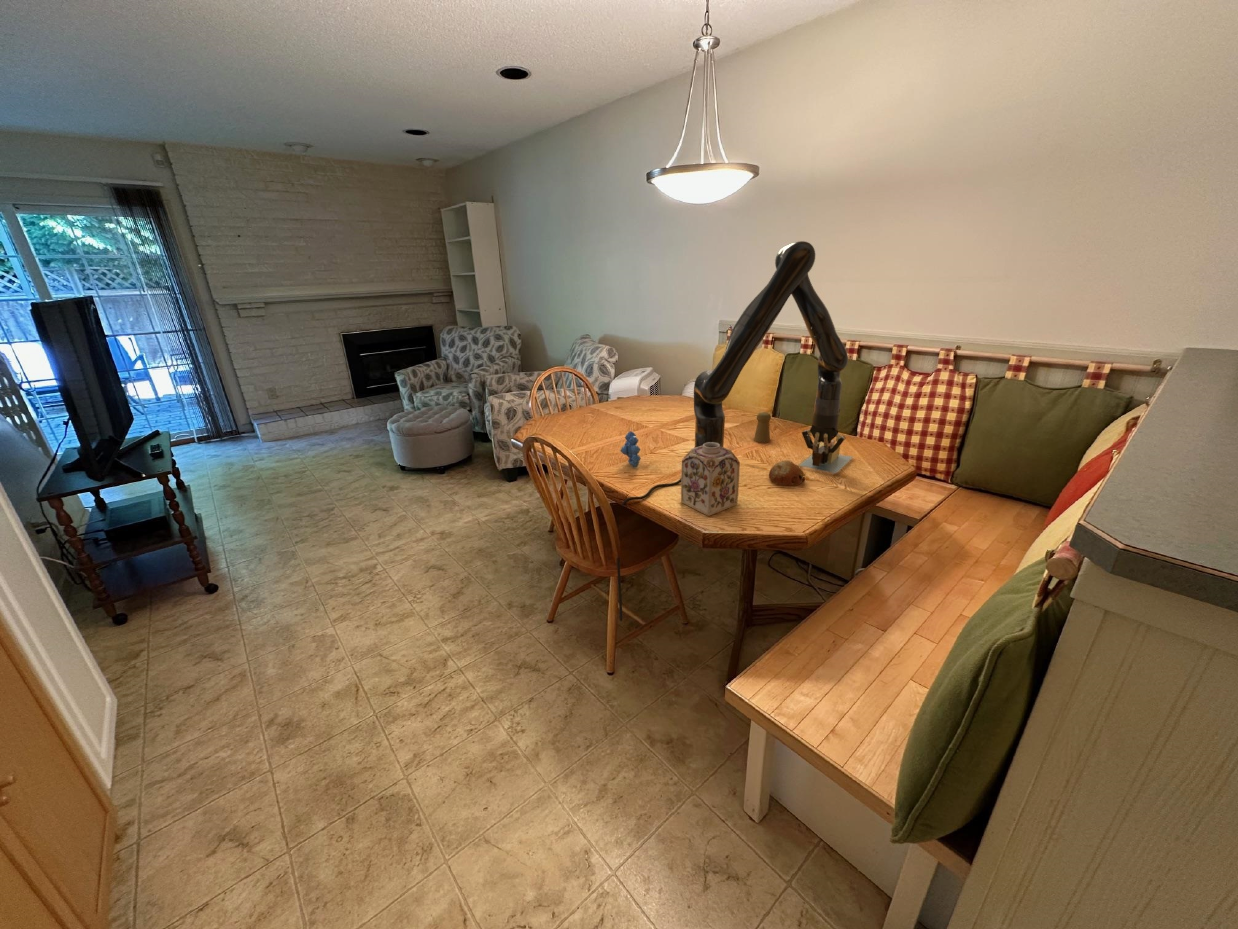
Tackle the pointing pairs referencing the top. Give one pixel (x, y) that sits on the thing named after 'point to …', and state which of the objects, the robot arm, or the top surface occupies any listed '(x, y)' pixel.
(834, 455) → the butter slice
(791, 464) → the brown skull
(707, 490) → the decorative jar
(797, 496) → the top surface
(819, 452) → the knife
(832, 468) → the butter dish
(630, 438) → the grapes
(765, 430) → the cork
